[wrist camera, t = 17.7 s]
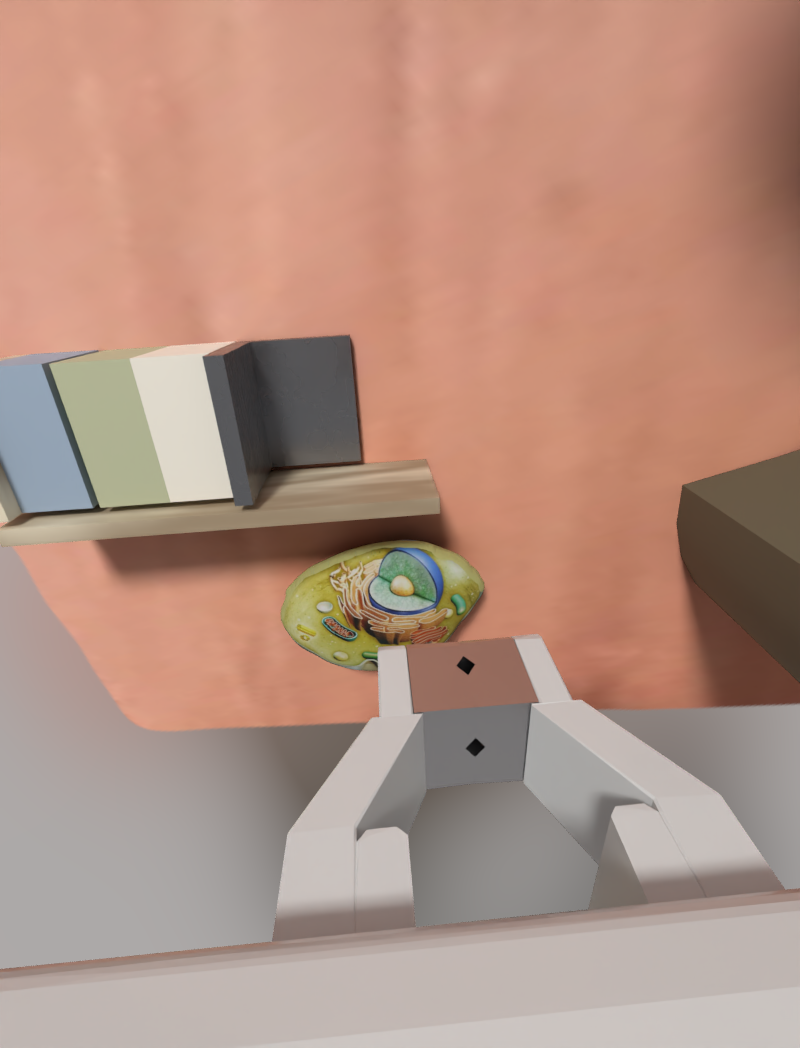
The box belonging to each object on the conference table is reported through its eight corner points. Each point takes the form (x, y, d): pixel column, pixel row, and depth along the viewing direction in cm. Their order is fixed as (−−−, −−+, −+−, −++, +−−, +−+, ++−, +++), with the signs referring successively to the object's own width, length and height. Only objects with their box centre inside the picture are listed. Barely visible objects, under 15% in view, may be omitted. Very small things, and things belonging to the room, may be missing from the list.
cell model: (259, 562, 35) (457, 558, 29) (311, 532, 41) (480, 524, 36) (287, 691, 37) (475, 709, 32) (333, 643, 44) (494, 650, 39)
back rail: (14, 355, 30) (-80, 374, 24) (421, 329, 31) (436, 340, 24) (68, 498, 34) (1, 546, 28) (426, 472, 35) (440, 513, 29)
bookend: (236, 342, 30) (202, 356, 24) (349, 334, 30) (345, 347, 24) (259, 465, 34) (235, 506, 27) (361, 458, 34) (360, 497, 28)
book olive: (105, 350, 30) (49, 363, 25) (171, 345, 30) (129, 358, 25) (142, 472, 34) (100, 507, 28) (201, 468, 34) (170, 502, 28)
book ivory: (170, 345, 30) (129, 358, 25) (236, 341, 30) (208, 353, 25) (201, 467, 34) (170, 502, 28) (259, 463, 34) (240, 497, 29)
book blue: (32, 354, 30) (-41, 368, 25) (98, 350, 30) (41, 364, 25) (77, 476, 34) (22, 513, 28) (136, 472, 34) (92, 508, 28)
